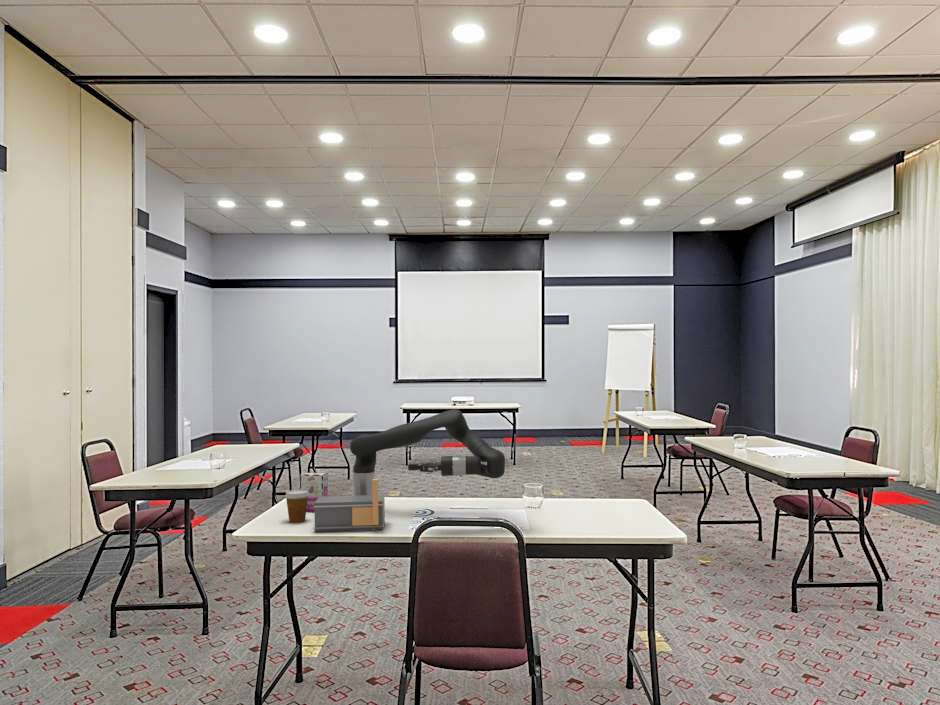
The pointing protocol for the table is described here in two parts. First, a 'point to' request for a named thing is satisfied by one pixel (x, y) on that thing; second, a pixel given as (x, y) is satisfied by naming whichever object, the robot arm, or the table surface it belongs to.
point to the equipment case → (344, 512)
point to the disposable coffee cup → (297, 505)
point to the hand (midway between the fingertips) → (408, 467)
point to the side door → (367, 510)
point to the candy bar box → (314, 487)
